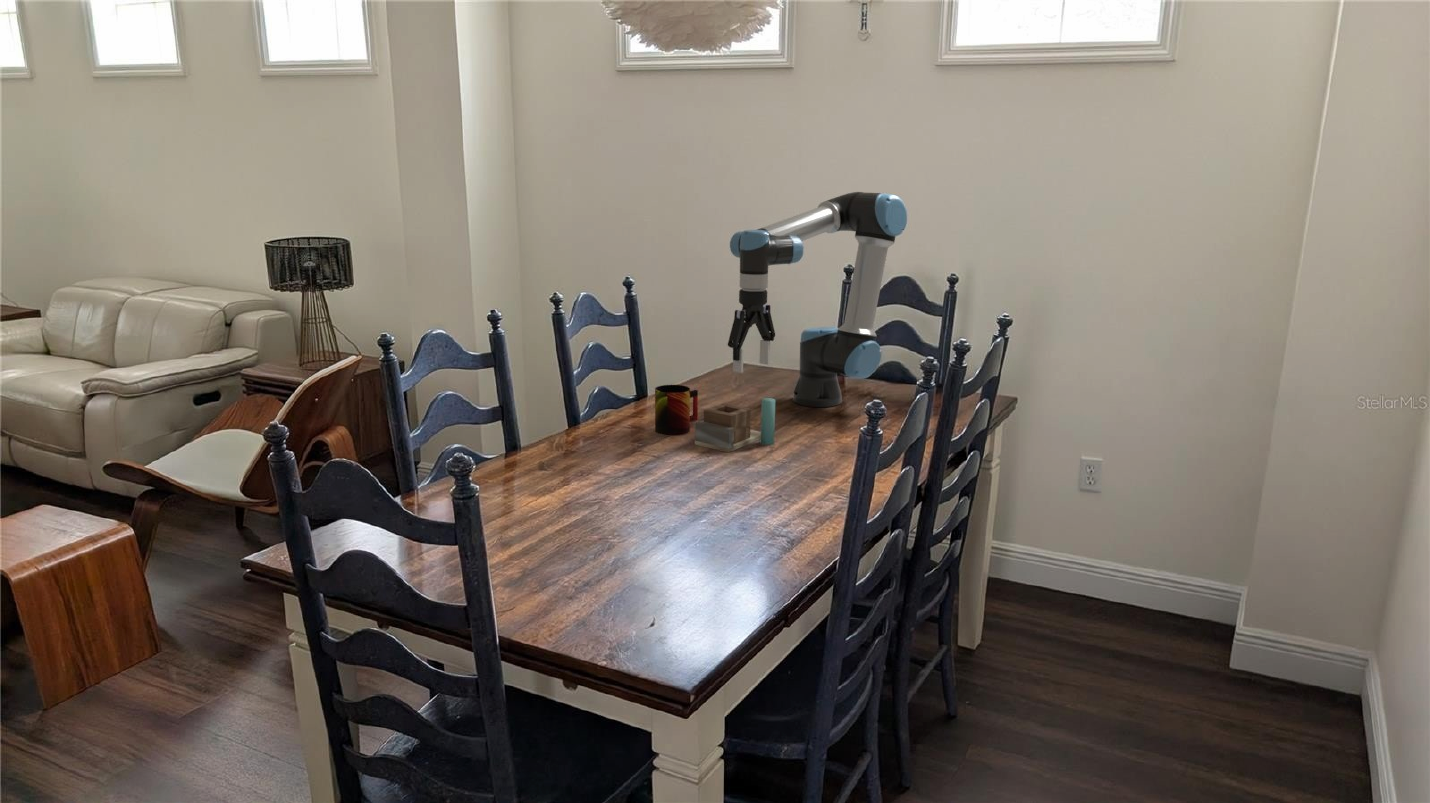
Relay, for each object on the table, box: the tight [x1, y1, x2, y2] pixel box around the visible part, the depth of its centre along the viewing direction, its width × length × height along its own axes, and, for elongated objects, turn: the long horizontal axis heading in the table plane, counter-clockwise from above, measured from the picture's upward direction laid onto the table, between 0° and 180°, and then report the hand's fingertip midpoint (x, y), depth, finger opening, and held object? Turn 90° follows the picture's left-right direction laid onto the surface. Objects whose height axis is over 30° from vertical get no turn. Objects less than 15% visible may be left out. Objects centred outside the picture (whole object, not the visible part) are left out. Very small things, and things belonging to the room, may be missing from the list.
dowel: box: [760, 397, 776, 446], centre depth 266 cm, size 4×4×12 cm
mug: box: [654, 384, 699, 437], centre depth 278 cm, size 10×14×12 cm
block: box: [703, 403, 752, 444], centre depth 267 cm, size 9×9×8 cm
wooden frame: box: [694, 420, 761, 453], centre depth 269 cm, size 18×11×6 cm, turn 144°
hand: (751, 368), depth 272 cm, fingers open, 12 cm apart
